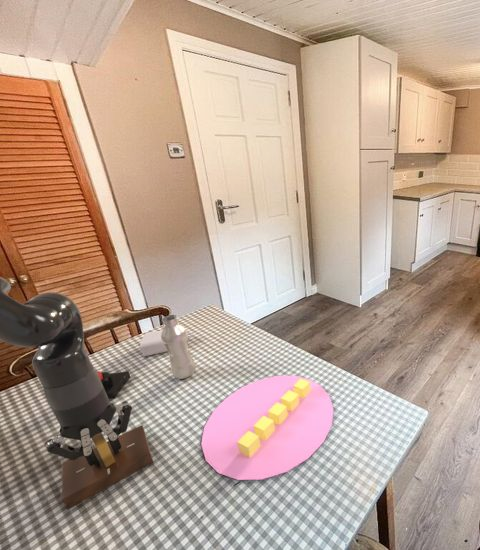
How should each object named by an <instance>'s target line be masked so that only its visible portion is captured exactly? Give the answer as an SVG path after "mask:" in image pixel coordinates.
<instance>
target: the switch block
mask: <svg viewBox="0 0 480 550" xmlns="http://www.w3.org/2000/svg"><path fill="white" fill-rule="evenodd" d="M100 372H101V373H102V375H103V379H102V380H101V382H102V385H103V387H104V389H105V392H106V394H107V396H108V399H109V400H115V399H116V398H117V396H118V395H119V394H120V392H121V391H122V390H123V388H124V387H125V386H126V384H127V383H128V381H129V380H130V379H131V374H130V371H128V370H127V371H120V372H112V373H110V372H107V371H100Z"/></svg>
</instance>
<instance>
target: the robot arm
mask: <svg viewBox="0 0 480 550" xmlns="http://www.w3.org/2000/svg"><path fill="white" fill-rule="evenodd" d="M11 289H12V284H11V283H10V281H9V280H8V279H6V278H4V277H2V276H0V341H1V342H4V343H6V344H8V345H11V346H13V347H20V348H37V350H36V352H35V354H34V355H33V358H32V360H31V366H32V368H33V372H34V373H35V375H36V376H37V377H36V378H37V379H38V381H39V383H40V384H41V386H42V390H43V393H44V396H45V399H46V401H47V403H48V405H49V407H50V408H51V410H52V412H53V414H54V416H55V418H56V420H57V422H58V424H59V425H60V429H59V433H58V434H57V435H56V436H54V438H49V439H47V440H46V441H45V442H44V445H45V448H46V451H47V452H48V453H49V454H54V455H55V456H58V457H61V458H64V459H67V460H69V459H70V460H76V459H78V458H79V457H81V456H85V458H86V460H87V462H88V464H89V465H90V466H92V465H94V464H95V466H97V465H99V464H100V463H99V461H98V459H97V457H96V455H95V453H94V451H93V449H92V448H93V447H92V441H91V440H92V437H93V436H94V435H96V434H98V433H104V434H105V436H106V438H107V441H109V443H110V445H111V447H112V449H113V451H114V453H115V455H116V454H117V453H119V449H121V444H120V442H119V439H118V436H120V435H122V434H124V433H126V432H127V430H128V427H129V423H130V418H131V414H132V409H133V407H132V405H131V403H130V402H129V401H128V400H125V401H123V402H122V403H120V404H116V405H115V404H114V403H112V402H111V401H110V399H108V396H107V394H106V392H105V389H104V387H103V385H102V382H101V379H100V377H99V375H98V373H97V372H98V371H97V370H96V369H95V368H94V366H93V363H92V361H91V359H90V356H89V354H88V352H87V350H86V347H85V334H84V333H85V332H84V325H83V318H82V313H81V311H80V309H79V306H78V305H77V304H76V303H75V302H74V300H73V299H72V298H70V297H69V296H67V295H65V294H62V293H59V292H54V291H53V292H51V291H50V292H43V293H40V294H37V295H35V296H33V297H32V298H29V299H28V300H27V301H25V302H24V303H22V302H19V301H17V300H16V299H14V298H13V297H11V296H9V293H10V292H11ZM115 413H117V415H118V417H117V420H116V421H117V422H116V425H115V427H112V425H111V423H112V420H113V418H114V416H115ZM65 439H70V440H77V441H79V445H80V446H79V447H75V446H72V445H69V444H68V443H66V441H65Z"/></svg>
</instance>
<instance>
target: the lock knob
mask: <svg viewBox="0 0 480 550" xmlns="http://www.w3.org/2000/svg"><path fill="white" fill-rule="evenodd" d="M91 440H92V442H93V444H94V447H96V449H97V451H98V453H99V455H100V457H101V459H102V461H103V463H104V465H105V467H108V466H110V465H111V464H113V463H115V460H114V458H113V455H112V453H111V451H110V449H109V447H108V444H107V440H106V439H105V437H104V435H103V432H101V433H98V434H96V435H94V436H93V437H92V438H91Z"/></svg>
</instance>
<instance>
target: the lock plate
mask: <svg viewBox="0 0 480 550" xmlns="http://www.w3.org/2000/svg"><path fill="white" fill-rule="evenodd" d="M118 439H119V442H120V444H121V449H119V453H117V454H116V455H115V453H114V451H113V449H112V447H111V445H110V443H109V441H108V440H106V442H107V444H108V447H109V449H110V451H111V453H112V455H113V458H114V460H115V463H113V464H111V465H110V466H108V467H105V465H104V463H103V461H102V459H101V457H100V455H99V453H98V451H97V449H96V446H94V447H92V449H93V451H94V453H95V455H96V457H97V459H98V461H99V463H100V464H99V465H97V466H95V464H94V465H92V466H90V465H89V464H88V462H87V460H86V458H85V456H81V457H79V458H78V459H76V460H70V459H67V460H65V461H62V474H61V475H62V478H61V479H62V483H61V501H62V502H63V504H64V505H65V507H66V509H67V510H69V509H72V508H73V507H75V506H77V505H78V504H80V503H81V504H82V503H83V502H84V501H86V500H89V498H92V497H94V496H95V495H97V494H100V493H101V492H102V491H104V490H107V489H108V488H110V487H112V486H113V485H116V484H117V483H120V482H121V481H123V480H124V479H126V478H129V477H130V476H132V475H133V474H135V473H138V472H139V471H141V470H143V469H144V468H146V467H148V466H150V465H152V464H153V463H154V462H155V461H154V458H153V454H152V450H151V447H150V444H149V439H148V437H147V432H146V430H145V428H144V425H143V424H141V425H139V426H137V427H135V428H133V429H131V430H129V431H125V432H124V433H121V434H120V435H119V436H118Z"/></svg>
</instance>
